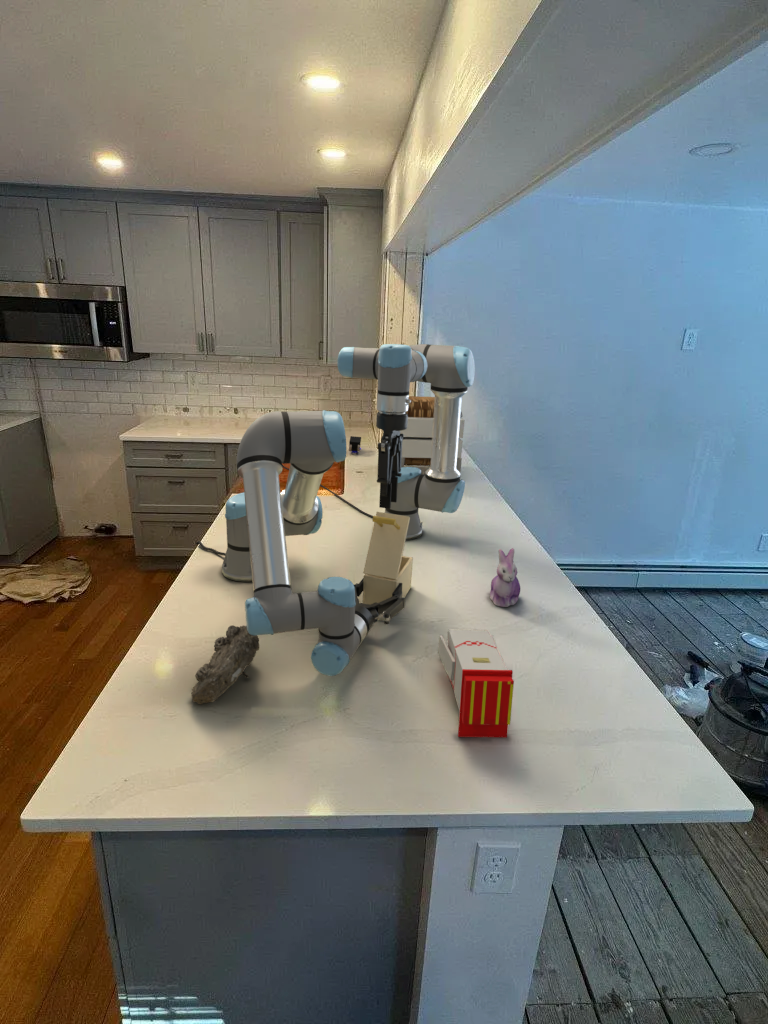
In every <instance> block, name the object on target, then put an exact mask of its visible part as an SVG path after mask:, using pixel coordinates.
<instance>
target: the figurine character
mask: <svg viewBox="0 0 768 1024" xmlns="http://www.w3.org/2000/svg"><path fill="white" fill-rule="evenodd" d="M349 437H350V438H349V441H348V442H349V443H348V451H349V452H350V454H351V455H353V454H356V455H358V454H359V452H361V450H362V447H361V443H362V442H361V441H362V436H353V435H351V436H349Z"/></svg>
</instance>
